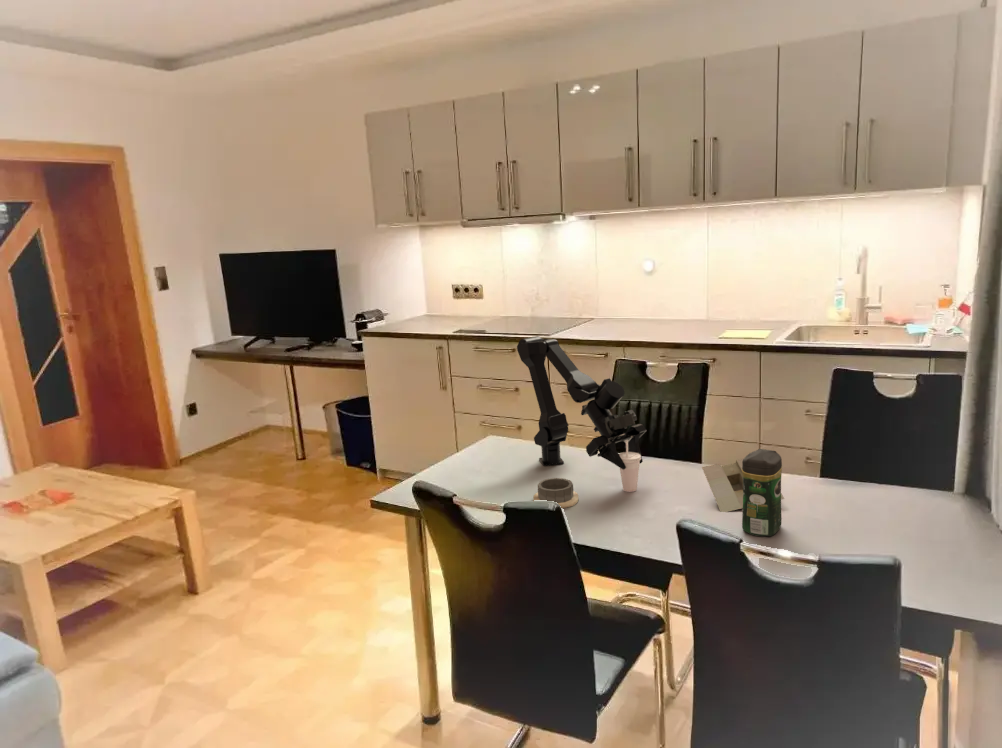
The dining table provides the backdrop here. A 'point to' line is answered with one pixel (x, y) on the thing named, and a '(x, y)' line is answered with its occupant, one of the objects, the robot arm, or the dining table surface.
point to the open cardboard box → (726, 485)
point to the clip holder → (557, 492)
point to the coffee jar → (762, 492)
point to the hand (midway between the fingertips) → (633, 465)
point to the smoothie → (630, 469)
